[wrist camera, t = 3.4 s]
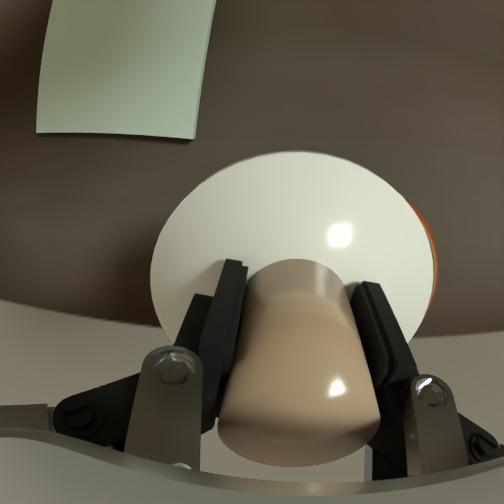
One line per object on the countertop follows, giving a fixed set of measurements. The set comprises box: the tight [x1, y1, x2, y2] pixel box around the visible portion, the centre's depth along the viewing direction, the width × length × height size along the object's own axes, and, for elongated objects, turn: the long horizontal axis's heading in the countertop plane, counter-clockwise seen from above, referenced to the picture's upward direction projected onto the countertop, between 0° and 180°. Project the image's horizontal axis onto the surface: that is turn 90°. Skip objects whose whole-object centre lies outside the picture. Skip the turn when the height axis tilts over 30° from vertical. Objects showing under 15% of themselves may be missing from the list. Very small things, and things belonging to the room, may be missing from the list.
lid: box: [150, 149, 433, 467], centre depth 9 cm, size 10×10×6 cm
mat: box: [36, 0, 216, 139], centre depth 16 cm, size 13×13×1 cm
